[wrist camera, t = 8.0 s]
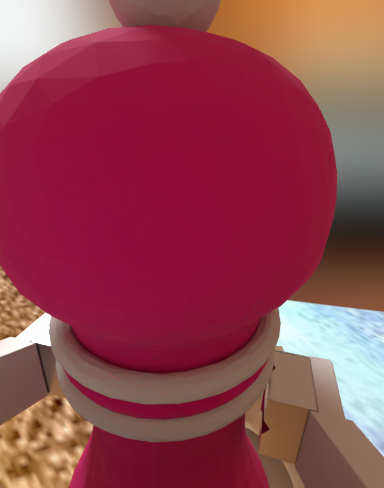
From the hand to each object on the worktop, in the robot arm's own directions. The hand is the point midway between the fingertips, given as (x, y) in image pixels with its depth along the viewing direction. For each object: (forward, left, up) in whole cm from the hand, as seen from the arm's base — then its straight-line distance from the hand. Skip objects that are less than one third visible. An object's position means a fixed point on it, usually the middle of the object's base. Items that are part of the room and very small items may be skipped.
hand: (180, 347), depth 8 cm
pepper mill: (0, -1, -11) cm, 11 cm away
